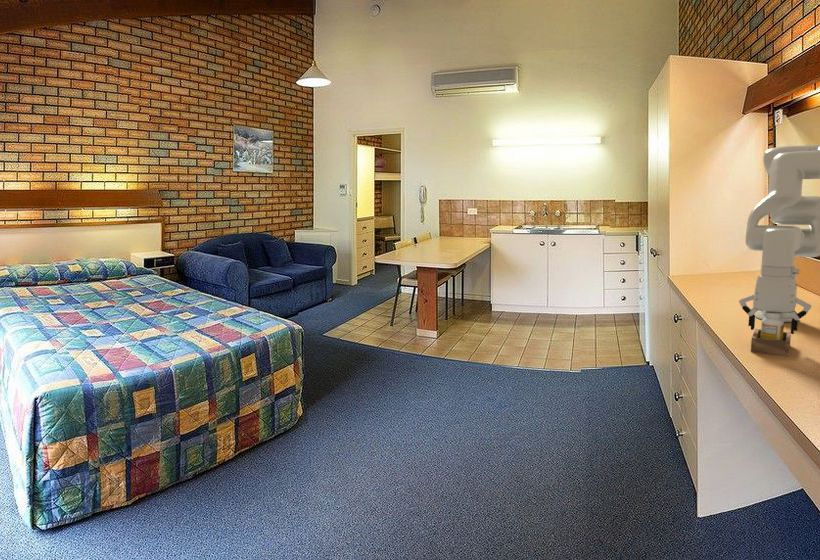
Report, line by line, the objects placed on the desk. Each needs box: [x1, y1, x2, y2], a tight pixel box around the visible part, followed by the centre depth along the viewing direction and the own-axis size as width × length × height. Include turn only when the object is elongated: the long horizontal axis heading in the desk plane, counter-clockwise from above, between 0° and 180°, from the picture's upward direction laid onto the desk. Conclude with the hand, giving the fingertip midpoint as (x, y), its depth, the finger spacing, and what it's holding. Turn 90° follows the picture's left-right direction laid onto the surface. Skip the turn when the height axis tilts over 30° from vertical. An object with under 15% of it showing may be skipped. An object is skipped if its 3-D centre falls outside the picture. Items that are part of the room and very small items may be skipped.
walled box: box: [750, 328, 792, 357], centre depth 160 cm, size 12×9×4 cm
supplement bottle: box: [760, 311, 785, 341], centre depth 160 cm, size 5×5×10 cm
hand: (772, 330), depth 160 cm, fingers open, 9 cm apart
